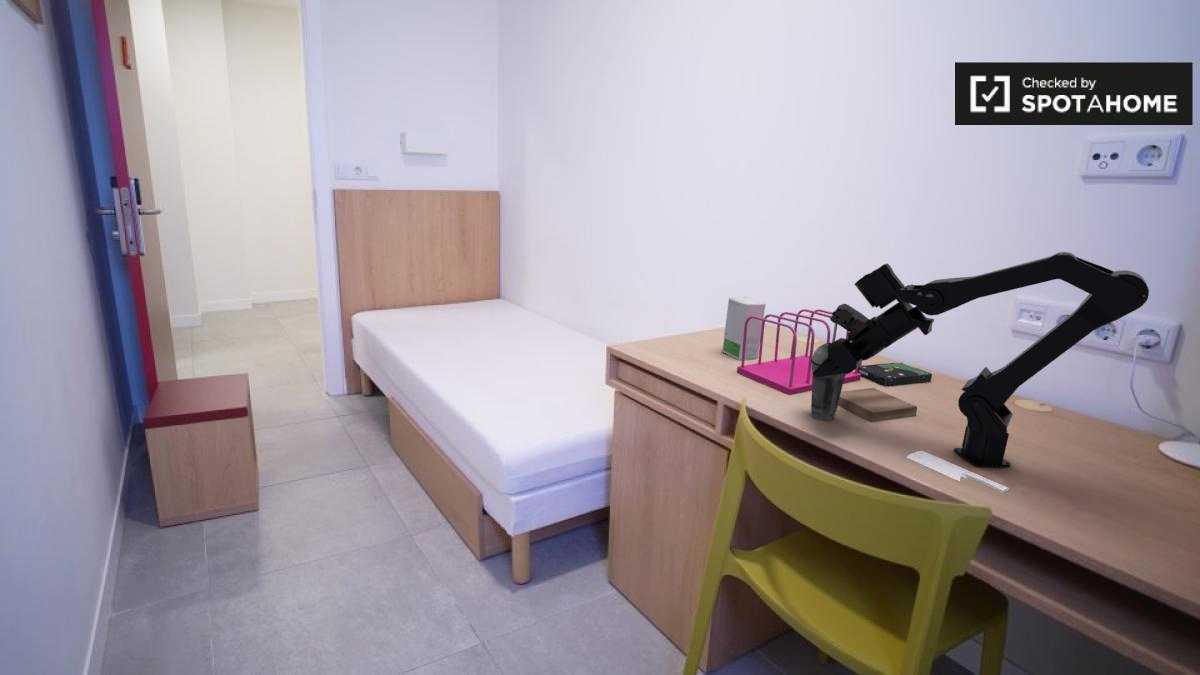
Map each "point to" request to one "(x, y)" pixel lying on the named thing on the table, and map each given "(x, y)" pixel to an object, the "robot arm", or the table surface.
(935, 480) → the table surface
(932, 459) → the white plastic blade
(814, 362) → the beverage cup
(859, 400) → the walnut plinth
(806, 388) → the file sorter
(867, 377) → the disk drive
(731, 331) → the skincare box
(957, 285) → the robot arm
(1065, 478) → the table surface
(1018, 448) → the table surface
